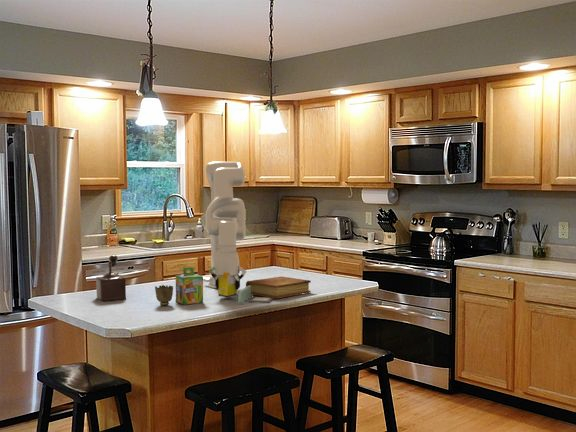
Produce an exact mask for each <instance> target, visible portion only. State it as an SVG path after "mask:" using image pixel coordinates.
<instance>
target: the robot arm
mask: <svg viewBox="0 0 576 432" xmlns="http://www.w3.org/2000/svg"><path fill="white" fill-rule="evenodd" d="M243 167H244V166H243V165H242V163H241V162H240V161H211V162H208V163H207V164H206V165H205V176H206V179H207V182H208V185H209V188H210V192H211V193H210V197H211V199H210V200H211V202H210V203H209V205H208V207H207V208H206V211H205V230H206V233H207V234H208V235H209V238H210V251H211V252H210V257H211V260H210V261H211V262H210V263H211V264H210V265H211V268H210V269H208V272H209V274H210V277H204V276H203V283H204V282H205V283H208V286H207V287H209V288H213V289H216V290H219V286H218V277H219V275H221V276H222V275H223V273H224V272H229V275H230V276H234V277H235V278H236V281H235V289H236V290H237V291H239V289H240V288H241V280H242V279H243V278H244V277H245V275H246V273H247V270H246V269H245V268H243V267H242V266H241V265H240V258H239V253H238V251H237V241H243V240H244V239H245V238H246V233H247V231H246V230H247V229H246V208H245V202H244V200H243V199H241V198H236V197H235V198H234V189H233V187H241V186H244V185H245V181H246V175H245V174H246V173H245V170H244V168H243ZM212 216H213V217H214V218H213V217H212ZM240 272H241V274H240Z"/></svg>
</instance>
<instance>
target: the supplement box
mask: <svg viewBox="0 0 576 432" xmlns="http://www.w3.org/2000/svg"><path fill="white" fill-rule="evenodd" d="M235 281H236V278H235V277H234V276H230V275H229V272H224V273H223V275H222V276H221V275H219V277H218V286H219V289H218V296H219V297H223V298H231V297H236V296H238V290H236V289H235Z"/></svg>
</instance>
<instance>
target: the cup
mask: <svg viewBox="0 0 576 432" xmlns="http://www.w3.org/2000/svg"><path fill="white" fill-rule="evenodd" d="M154 289H155V297H156V300H157V301H158V302H159V305H160V306H162V307H167V306H169V304H170V303H169V302H171V300H172V298H173V295H174V285H171V284H170V285H169V286H168V285H164V284H162V285H159V286H157V285H156V286H154Z"/></svg>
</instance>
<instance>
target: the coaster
mask: <svg viewBox="0 0 576 432" xmlns="http://www.w3.org/2000/svg"><path fill="white" fill-rule="evenodd" d="M272 299H273V298H270V297H264V296H253V297H250V298H249V299H248V303H255V302H267V303H266V304H270V303H271V302H272V301H273V300H274V299H273V300H272ZM271 300H272V301H271ZM270 301H271V302H270ZM269 302H270V303H269Z"/></svg>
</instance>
